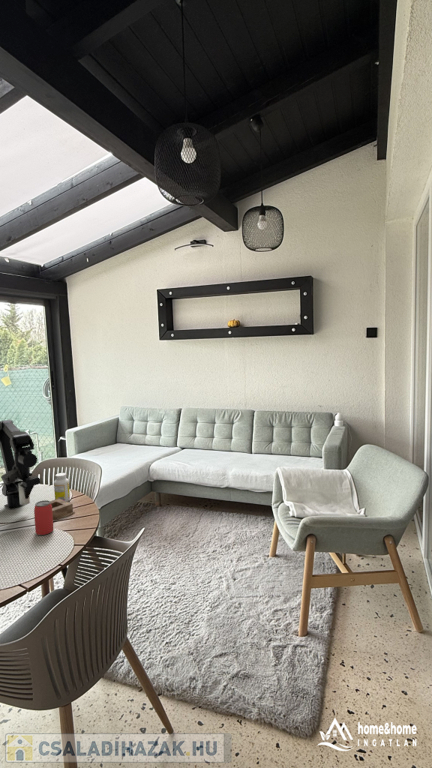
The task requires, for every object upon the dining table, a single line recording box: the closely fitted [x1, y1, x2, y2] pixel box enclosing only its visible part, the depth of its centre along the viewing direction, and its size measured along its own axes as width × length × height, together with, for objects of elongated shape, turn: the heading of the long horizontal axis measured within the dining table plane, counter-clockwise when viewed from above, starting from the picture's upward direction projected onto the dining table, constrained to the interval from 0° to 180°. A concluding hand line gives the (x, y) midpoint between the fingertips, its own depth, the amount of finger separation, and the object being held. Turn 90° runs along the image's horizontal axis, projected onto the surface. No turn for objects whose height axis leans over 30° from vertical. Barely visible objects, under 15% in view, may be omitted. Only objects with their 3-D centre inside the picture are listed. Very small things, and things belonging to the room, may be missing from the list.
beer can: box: [33, 499, 54, 536], centre depth 163 cm, size 7×7×12 cm
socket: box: [49, 498, 75, 522], centre depth 181 cm, size 12×12×4 cm
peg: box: [18, 482, 31, 506], centre depth 180 cm, size 4×4×9 cm
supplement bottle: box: [53, 472, 71, 502], centre depth 196 cm, size 7×7×13 cm
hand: (24, 497), depth 180 cm, fingers closed on peg, 4 cm apart
